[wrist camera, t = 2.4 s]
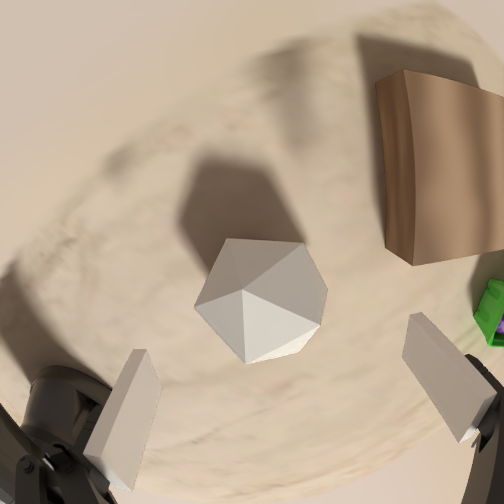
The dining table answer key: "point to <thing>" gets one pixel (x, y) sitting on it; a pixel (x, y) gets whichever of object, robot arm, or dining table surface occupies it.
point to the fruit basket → (492, 313)
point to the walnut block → (441, 167)
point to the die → (263, 298)
